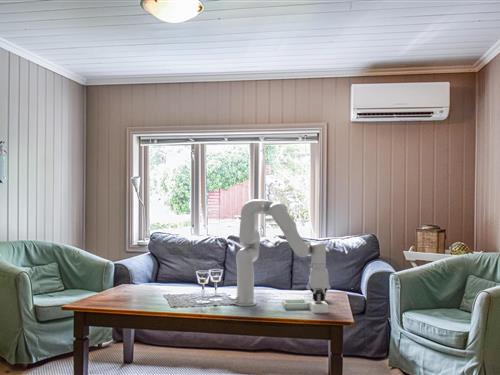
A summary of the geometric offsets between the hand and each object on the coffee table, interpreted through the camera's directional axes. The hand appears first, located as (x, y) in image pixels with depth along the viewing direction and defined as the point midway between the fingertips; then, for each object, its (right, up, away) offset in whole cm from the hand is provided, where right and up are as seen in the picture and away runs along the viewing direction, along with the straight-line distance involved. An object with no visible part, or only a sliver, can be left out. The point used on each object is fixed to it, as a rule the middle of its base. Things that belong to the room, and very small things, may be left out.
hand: (318, 300), depth 216 cm
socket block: (0, -5, 0) cm, 5 cm away
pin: (0, -5, 0) cm, 5 cm away
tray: (-11, -6, +7) cm, 14 cm away
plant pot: (+4, -6, +22) cm, 23 cm away
